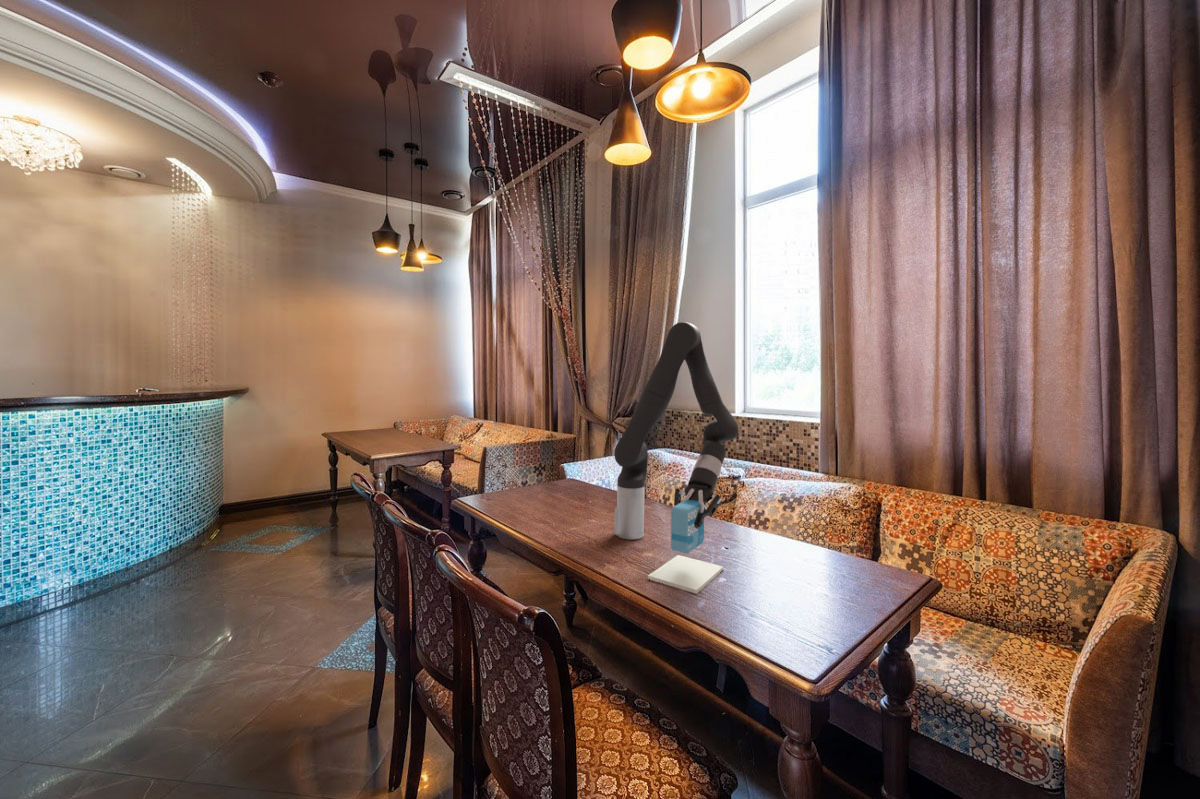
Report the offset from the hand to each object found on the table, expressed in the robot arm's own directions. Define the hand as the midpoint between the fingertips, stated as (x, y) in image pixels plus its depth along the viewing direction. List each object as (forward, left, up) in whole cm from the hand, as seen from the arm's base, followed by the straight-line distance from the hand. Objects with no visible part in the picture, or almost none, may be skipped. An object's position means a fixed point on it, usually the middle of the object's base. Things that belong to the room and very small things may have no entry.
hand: (687, 525), depth 127 cm
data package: (0, 0, -6) cm, 6 cm away
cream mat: (0, 0, -14) cm, 14 cm away
